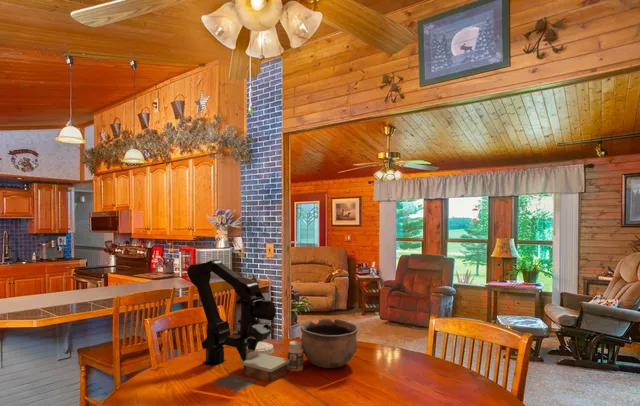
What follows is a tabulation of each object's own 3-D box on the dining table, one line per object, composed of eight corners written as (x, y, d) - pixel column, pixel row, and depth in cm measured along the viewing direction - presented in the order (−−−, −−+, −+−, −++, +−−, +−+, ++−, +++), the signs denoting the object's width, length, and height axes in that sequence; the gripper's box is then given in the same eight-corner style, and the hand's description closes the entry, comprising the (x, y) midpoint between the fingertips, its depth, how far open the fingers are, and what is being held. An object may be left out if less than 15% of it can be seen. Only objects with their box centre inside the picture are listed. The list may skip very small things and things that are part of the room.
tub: (243, 375, 148) (243, 364, 148) (261, 367, 157) (261, 356, 157) (270, 383, 142) (270, 371, 142) (287, 373, 151) (287, 362, 151)
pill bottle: (301, 373, 152) (301, 345, 152) (285, 371, 153) (286, 344, 153) (304, 367, 157) (305, 341, 158) (289, 366, 158) (290, 339, 159)
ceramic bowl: (345, 353, 174) (345, 317, 175) (367, 372, 154) (367, 331, 154) (293, 358, 167) (294, 320, 168) (309, 378, 147) (310, 335, 147)
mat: (210, 385, 140) (210, 383, 140) (231, 375, 149) (231, 373, 149) (237, 393, 134) (237, 391, 134) (257, 382, 142) (257, 380, 142)
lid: (233, 365, 150) (233, 354, 150) (252, 357, 160) (253, 346, 160) (270, 375, 142) (271, 363, 142) (289, 365, 151) (289, 354, 151)
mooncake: (238, 353, 173) (238, 344, 173) (262, 347, 181) (262, 339, 181) (254, 361, 164) (254, 351, 164) (279, 354, 172) (279, 345, 173)
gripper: (248, 325, 142) (247, 372, 142) (281, 314, 158) (280, 356, 158) (224, 320, 148) (223, 365, 148) (257, 310, 164) (257, 351, 164)
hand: (247, 359), depth 154 cm, fingers closed on lid, 4 cm apart
